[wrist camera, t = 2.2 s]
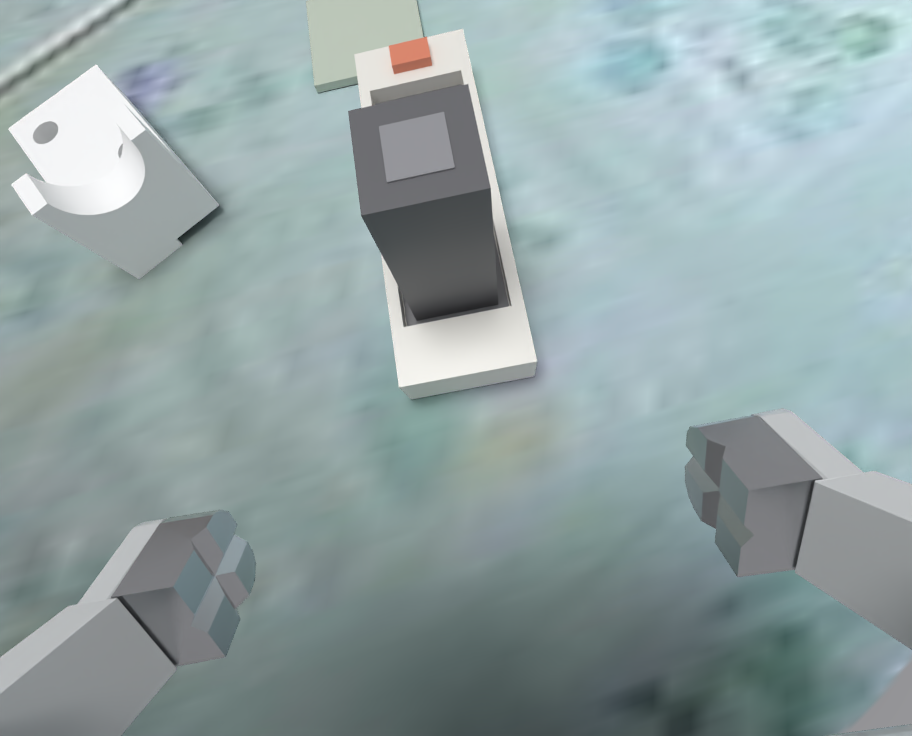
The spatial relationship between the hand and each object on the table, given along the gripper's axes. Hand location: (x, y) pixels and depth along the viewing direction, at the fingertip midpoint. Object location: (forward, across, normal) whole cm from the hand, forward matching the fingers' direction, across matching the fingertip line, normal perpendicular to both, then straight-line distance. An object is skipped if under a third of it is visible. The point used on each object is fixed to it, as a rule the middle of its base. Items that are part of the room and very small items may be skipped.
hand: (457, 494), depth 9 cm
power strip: (+24, 0, 0) cm, 24 cm away
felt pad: (+36, +3, -11) cm, 37 cm away
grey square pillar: (+19, 0, +2) cm, 19 cm away
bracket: (+30, +21, -5) cm, 37 cm away
